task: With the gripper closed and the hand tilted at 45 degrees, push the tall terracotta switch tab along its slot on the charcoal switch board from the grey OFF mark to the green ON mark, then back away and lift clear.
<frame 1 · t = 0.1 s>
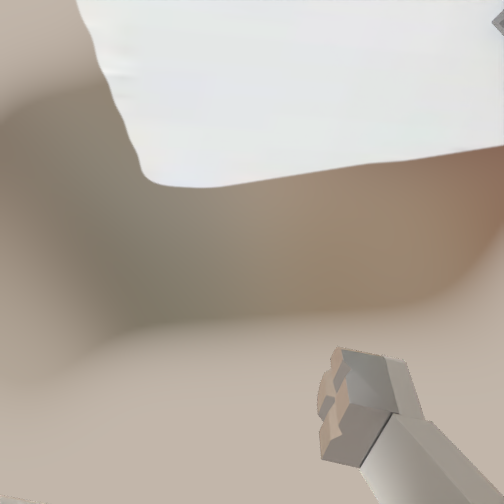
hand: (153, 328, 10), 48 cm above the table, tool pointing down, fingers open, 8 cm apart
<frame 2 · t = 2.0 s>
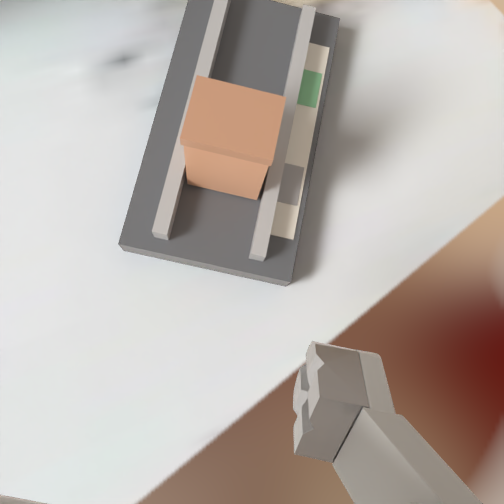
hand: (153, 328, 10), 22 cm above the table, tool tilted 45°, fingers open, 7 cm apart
switch board: (237, 133, 35), on the table
switch tab: (230, 146, 28), point 6 cm above the table, slide at 0.0 cm
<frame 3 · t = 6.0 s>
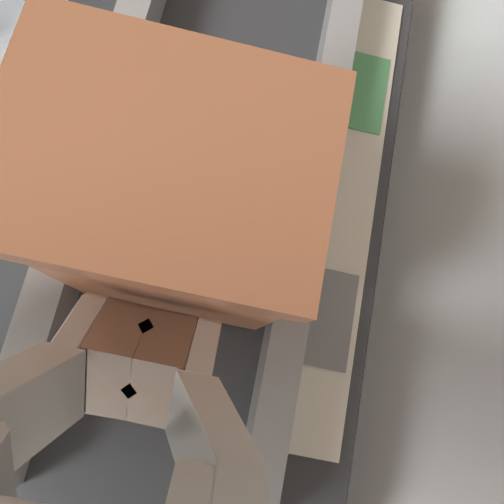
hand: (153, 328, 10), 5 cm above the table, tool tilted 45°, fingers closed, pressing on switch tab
switch board: (207, 189, 16), on the table
switch tab: (179, 219, 10), point 6 cm above the table, slide at 1.0 cm, touching gripper
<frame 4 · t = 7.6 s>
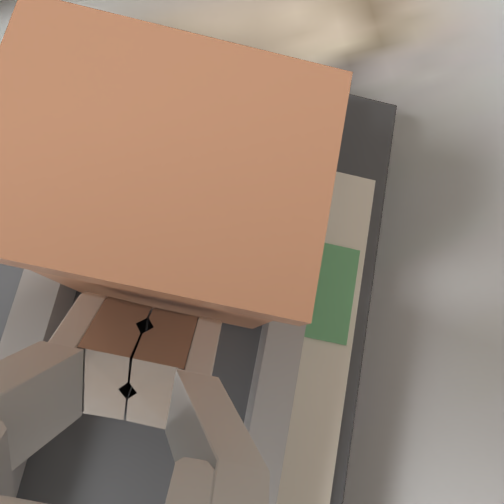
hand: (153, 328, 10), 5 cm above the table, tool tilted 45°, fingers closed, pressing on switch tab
switch board: (157, 388, 15), on the table
switch tab: (175, 219, 10), point 6 cm above the table, slide at 8.2 cm, touching gripper
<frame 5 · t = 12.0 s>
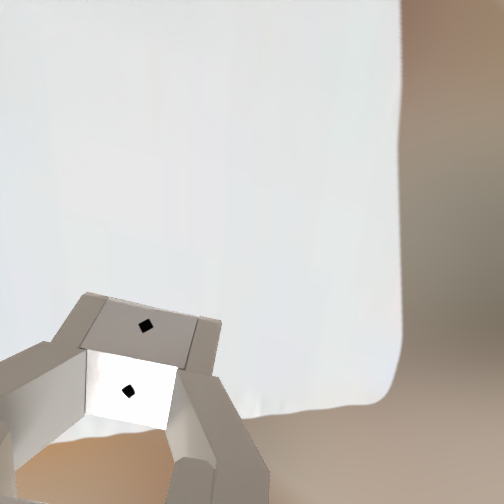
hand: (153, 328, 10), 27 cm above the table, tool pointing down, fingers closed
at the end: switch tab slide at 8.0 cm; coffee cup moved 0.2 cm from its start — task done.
